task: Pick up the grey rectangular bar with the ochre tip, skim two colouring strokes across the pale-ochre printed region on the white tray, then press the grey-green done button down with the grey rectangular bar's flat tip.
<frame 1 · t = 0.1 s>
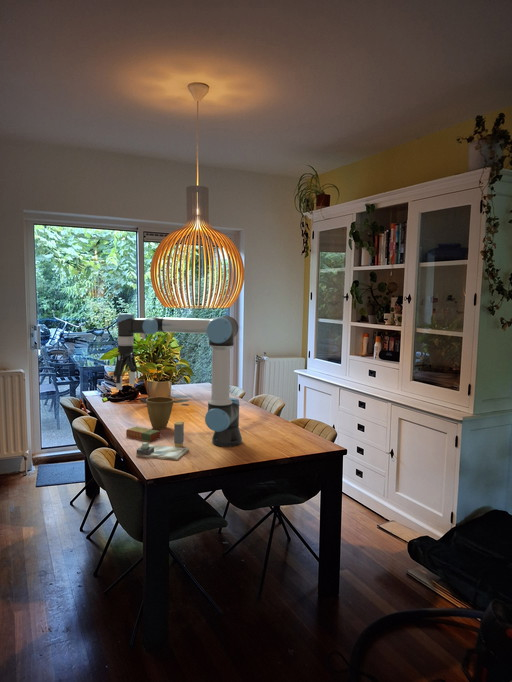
hand: (125, 387, 248), 28 cm above the table, fingers open, 13 cm apart
plant pot: (159, 428, 278), on the table
carton: (143, 438, 259), on the table
grey rectangular bar: (178, 446, 246), on the table
white tray: (163, 453, 235), on the table
done button: (145, 446, 232), point 4 cm above the table, slide at 0.0 cm
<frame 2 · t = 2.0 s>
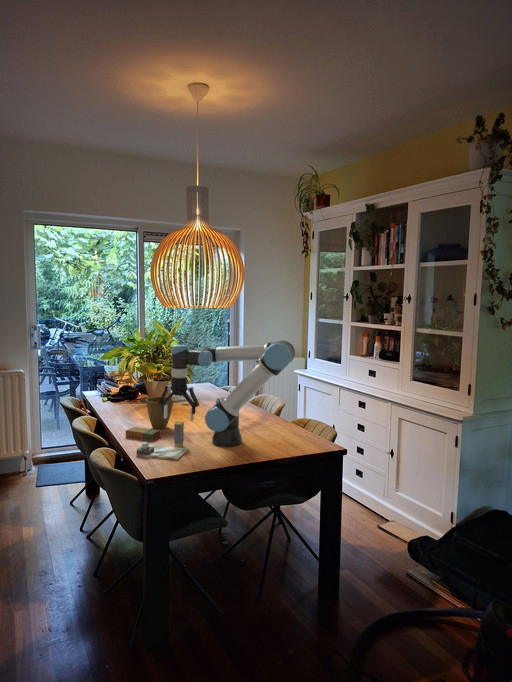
hand: (178, 419, 245), 14 cm above the table, fingers open, 13 cm apart
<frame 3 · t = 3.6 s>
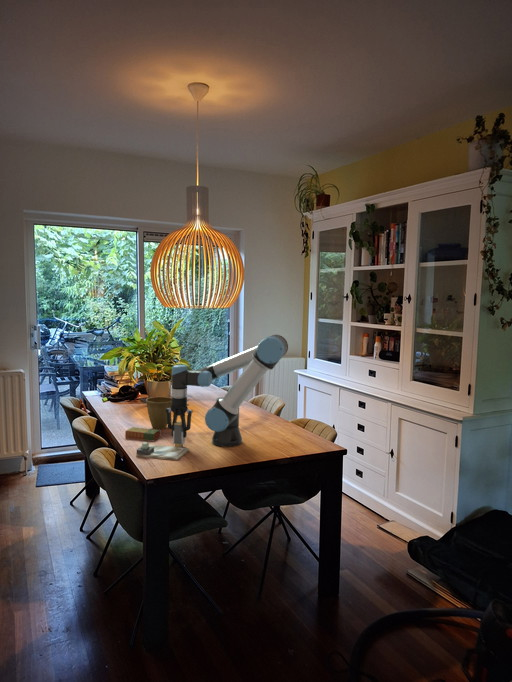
hand: (178, 443, 246), 2 cm above the table, fingers closed on grey rectangular bar, 3 cm apart
grey rectangular bar: (178, 446, 246), on the table, touching gripper
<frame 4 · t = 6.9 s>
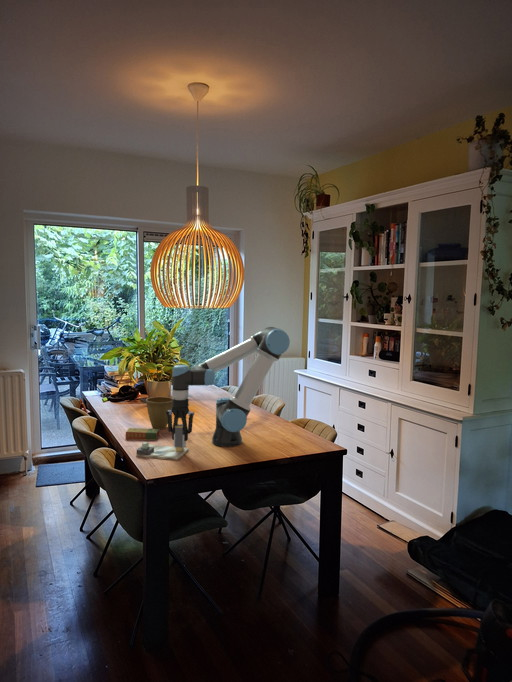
hand: (179, 446, 235), 3 cm above the table, fingers closed on grey rectangular bar, 3 cm apart
grey rectangular bar: (179, 450, 235), point 2 cm above the table, touching gripper
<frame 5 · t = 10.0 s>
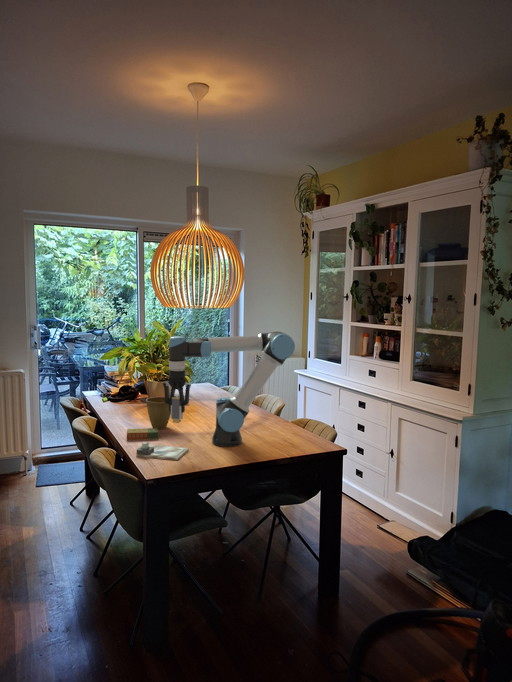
hand: (176, 418, 235), 16 cm above the table, fingers closed on grey rectangular bar, 3 cm apart
grey rectangular bar: (176, 421, 236), point 15 cm above the table, touching gripper
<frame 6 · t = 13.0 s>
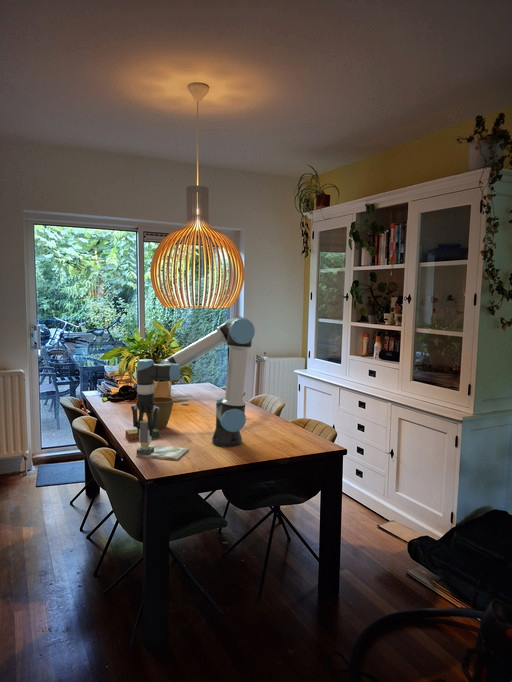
hand: (145, 442, 232), 6 cm above the table, fingers closed on grey rectangular bar, 3 cm apart
grey rectangular bar: (145, 445, 232), point 4 cm above the table, touching done button, gripper
done button: (145, 448, 232), point 3 cm above the table, slide at 1.1 cm, touching grey rectangular bar
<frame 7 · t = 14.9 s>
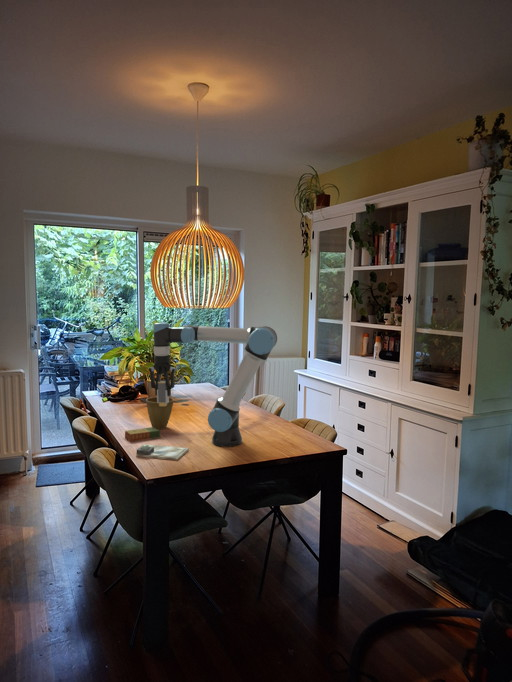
hand: (163, 402, 243), 22 cm above the table, fingers closed on grey rectangular bar, 3 cm apart
grey rectangular bar: (163, 405, 243), point 21 cm above the table, touching gripper
done button: (145, 448, 232), point 3 cm above the table, slide at 1.1 cm
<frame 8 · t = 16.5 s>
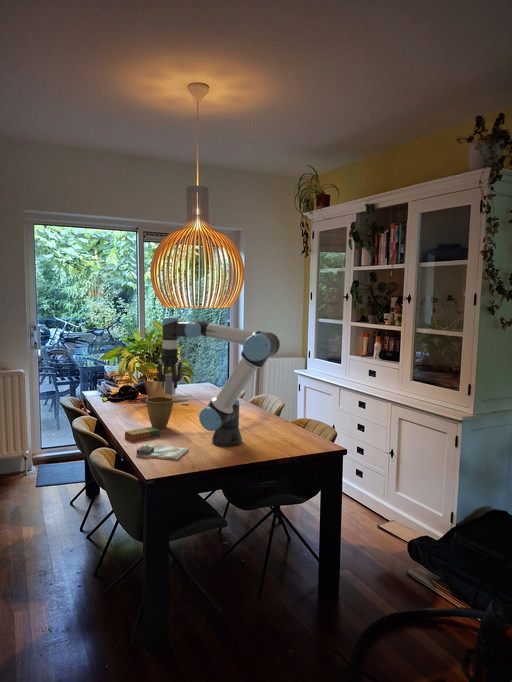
hand: (169, 394, 250), 25 cm above the table, fingers closed on grey rectangular bar, 3 cm apart
grey rectangular bar: (169, 397, 250), point 23 cm above the table, touching gripper
at the end: done button slide at 1.1 cm; grey rectangular bar moved 24.6 cm from its start; the gripper is holding grey rectangular bar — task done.
